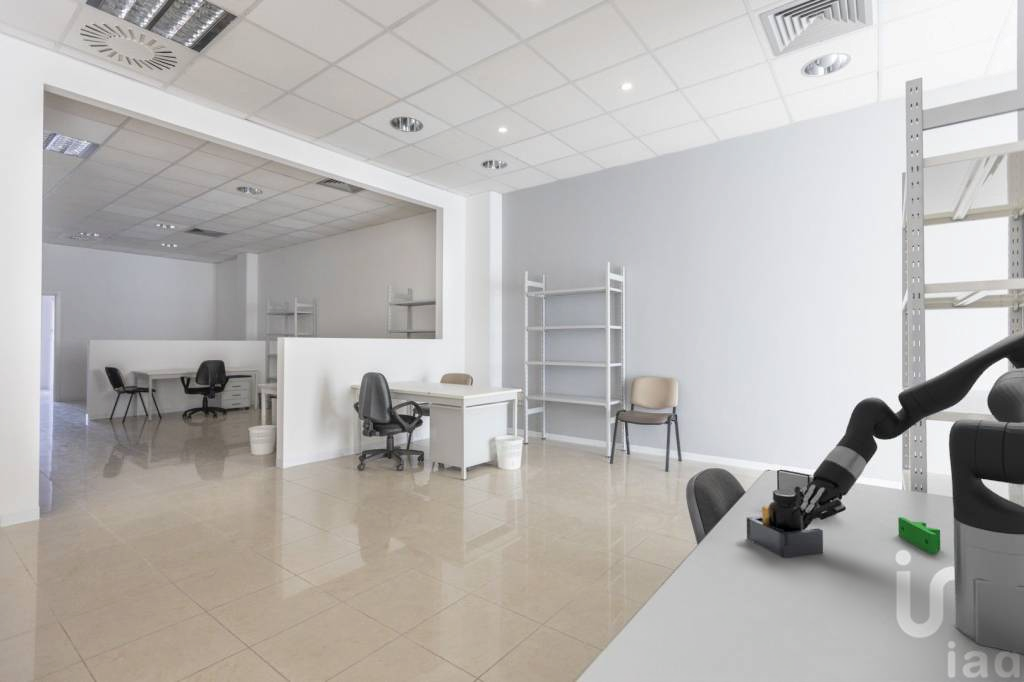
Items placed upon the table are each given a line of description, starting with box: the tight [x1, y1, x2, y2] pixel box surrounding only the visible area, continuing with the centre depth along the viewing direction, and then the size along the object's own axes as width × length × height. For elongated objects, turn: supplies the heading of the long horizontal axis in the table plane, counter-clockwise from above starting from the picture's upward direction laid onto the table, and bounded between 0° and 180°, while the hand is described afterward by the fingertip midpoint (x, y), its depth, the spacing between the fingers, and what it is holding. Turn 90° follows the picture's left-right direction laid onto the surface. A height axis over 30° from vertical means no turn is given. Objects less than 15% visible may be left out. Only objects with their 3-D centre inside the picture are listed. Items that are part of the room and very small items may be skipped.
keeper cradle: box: [746, 505, 824, 559], centre depth 114 cm, size 10×11×9 cm
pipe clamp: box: [897, 516, 941, 555], centre depth 115 cm, size 11×4×5 cm, turn 173°
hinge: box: [776, 469, 827, 513], centre depth 139 cm, size 14×5×10 cm, turn 49°
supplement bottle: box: [768, 489, 803, 532], centre depth 114 cm, size 7×7×12 cm
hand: (797, 527), depth 115 cm, fingers closed
